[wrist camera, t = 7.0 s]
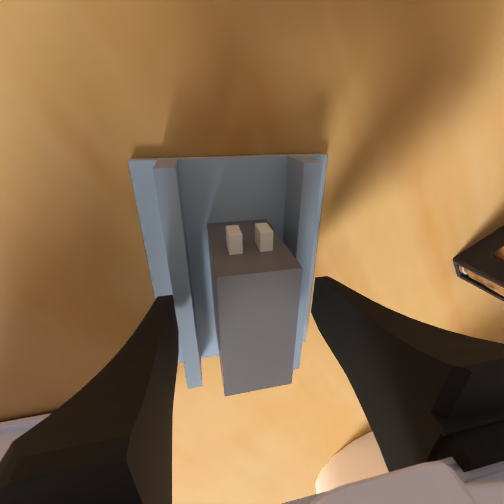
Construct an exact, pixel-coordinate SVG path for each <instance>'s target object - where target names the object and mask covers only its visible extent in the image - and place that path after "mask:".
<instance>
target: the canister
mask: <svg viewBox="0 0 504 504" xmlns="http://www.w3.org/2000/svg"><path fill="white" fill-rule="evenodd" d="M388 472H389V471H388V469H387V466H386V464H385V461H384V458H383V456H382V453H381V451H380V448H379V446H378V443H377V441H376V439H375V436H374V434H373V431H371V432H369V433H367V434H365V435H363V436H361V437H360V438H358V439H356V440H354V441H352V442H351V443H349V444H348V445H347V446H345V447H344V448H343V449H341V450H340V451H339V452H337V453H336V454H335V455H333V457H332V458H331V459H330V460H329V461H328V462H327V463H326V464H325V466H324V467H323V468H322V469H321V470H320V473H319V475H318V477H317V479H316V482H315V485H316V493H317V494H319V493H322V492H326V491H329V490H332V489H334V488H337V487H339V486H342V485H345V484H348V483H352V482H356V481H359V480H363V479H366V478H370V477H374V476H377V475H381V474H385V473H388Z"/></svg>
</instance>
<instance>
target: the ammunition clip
mask: <svg viewBox="0 0 504 504" xmlns="http://www.w3.org/2000/svg"><path fill="white" fill-rule="evenodd" d="M453 262H454V266H455V269H456V273H457V276H458V277H460V278H462V279H463V280H465V281H467V282H469V283H471V284H473V285H474V286H476V287H478V288H480V289H482V290H484V291H485V292H487V293H489V294H491V295H493V296H495V297H496V298H498V299H500V300H502V301H504V226H502V227H501V228H499V229H498V230H496V231H495V232H493V233H492V234H490V235H488V236H487V237H485V238H484V239H482V240H481V241H479V242H478V243H476V244H475V245H473V246H471V247H470V248H468V249H467V250H465V251H464V252H462V253H461V254H459V255H458V256H456V257H455V258H453Z"/></svg>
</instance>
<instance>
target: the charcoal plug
mask: <svg viewBox="0 0 504 504" xmlns="http://www.w3.org/2000/svg"><path fill="white" fill-rule="evenodd" d="M207 234H208V246H209V259H210V271H211V283H212V295H213V307H214V320H215V327H216V334H217V342H218V349H219V357H220V364H221V371H222V379H223V386H224V394H225V396H229V395H234V394H240V393H245V392H250V391H255V390H260V389H265V388H270V387H276V386H281V385H286V384H291V383H292V373H293V362H294V352H295V341H296V331H297V321H298V310H299V300H300V289H301V279H302V266H301V265H300V264H299V262H298V261H297V260H296V258H295V257H294V256H293V254H292V253H291V252H290V250H289V249H288V248H287V246H286V245H285V244H284V242H283V241H282V240H281V238H280V237H279V236H278V234H277V233H276V232H275V230H274V229H273V228H272V226H271V225H270V224H269V222H268V221H267V220H266V219H261V220H248V221H235V222H222V223H209V224H207Z"/></svg>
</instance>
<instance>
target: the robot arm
mask: <svg viewBox="0 0 504 504" xmlns="http://www.w3.org/2000/svg"><path fill="white" fill-rule="evenodd" d="M311 313H312V315H313V318H314V320H315V322H316V325H317V327H318V329H319V331H320V333H321V334H322V336H323V338H324V339H325V341H326V343H327V344H328V346H329V347H330V349H331V351H332V352H333V354H334V356H335V357H336V359H337V360H338V362H339V364H340V365H341V367H342V368H343V370H344V372H345V374H346V375H347V377H348V379H349V381H350V383H351V385H352V387H353V389H354V391H355V393H356V396H357V398H358V400H359V402H360V404H361V406H362V409H363V411H364V413H365V415H366V417H367V420H368V422H369V424H370V427H371V429H372V431H373V434H374V436H375V439H376V441H377V443H378V446H379V448H380V451H381V453H382V456H383V458H384V461H385V464H386V466H387V469H388V471H389V472H388V473H385V474H381V475H377V476H374V477H370V478H366V479H363V480H359V481H356V482H352V483H348V484H345V485H342V486H339V487H337V488H334V489H332V490H329V491H326V492H322V493H319V494H315V495H311V496H308V497H304V498H301V499H297V500H293V501H290V502H286V503H283V504H504V344H502V343H497V342H492V341H488V340H483V339H478V338H474V337H470V336H466V335H462V334H458V333H455V332H451V331H448V330H444V329H441V328H438V327H435V326H432V325H429V324H426V323H423V322H420V321H417V320H415V319H412V318H409V317H407V316H405V315H402V314H400V313H397V312H395V311H393V310H391V309H388V308H386V307H384V306H382V305H380V304H378V303H376V302H374V301H372V300H370V299H368V298H367V297H365V296H363V295H361V294H359V293H357V292H356V291H354V290H352V289H350V288H348V287H347V286H345V285H343V284H341V283H340V282H338V281H336V280H334V279H332V278H330V277H328V276H325V277H316V278H315V285H314V293H313V301H312V309H311ZM178 354H179V331H178V324H177V318H176V312H175V306H174V299H173V295H166V296H158V297H157V298H156V299H155V301H154V303H153V305H152V306H151V308H150V310H149V311H148V313H147V314H146V316H145V317H144V319H143V320H142V322H141V323H140V325H139V326H138V328H137V329H136V331H135V332H134V333H133V335H132V336H131V337H130V338H129V340H128V341H127V342H126V344H125V345H124V346H123V347H122V349H121V350H120V351H119V352H118V353H117V354H116V355H115V357H114V358H113V359H112V360H111V361H110V362H109V363H108V364H107V365H106V366H105V367H104V368H103V369H102V370H101V371H100V372H99V373H98V374H97V375H96V376H95V377H94V378H93V379H92V380H91V381H90V382H89V383H88V384H87V385H86V386H85V387H83V388H82V389H81V390H80V391H79V392H78V393H76V394H75V395H74V396H73V397H72V398H70V399H69V400H68V401H67V402H66V403H64V404H63V405H62V406H61V407H59V408H58V409H57V410H56V411H54V412H53V413H50V414H44V415H39V416H33V417H28V418H22V419H17V420H11V421H6V422H0V504H172V413H173V400H174V391H175V382H176V373H177V364H178Z"/></svg>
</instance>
